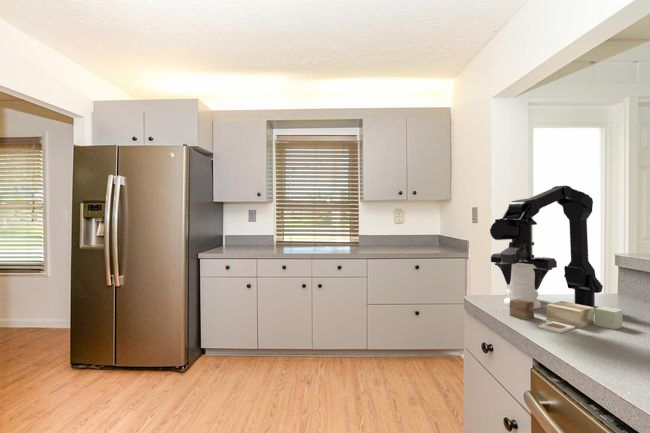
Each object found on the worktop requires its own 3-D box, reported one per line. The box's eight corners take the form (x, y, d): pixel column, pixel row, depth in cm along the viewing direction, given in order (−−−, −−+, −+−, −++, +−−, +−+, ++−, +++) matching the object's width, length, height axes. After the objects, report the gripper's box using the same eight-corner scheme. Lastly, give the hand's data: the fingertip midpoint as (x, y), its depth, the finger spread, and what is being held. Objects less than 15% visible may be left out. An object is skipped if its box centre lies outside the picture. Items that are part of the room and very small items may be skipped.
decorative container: (507, 299, 137) (506, 253, 137) (542, 303, 130) (541, 254, 130) (501, 305, 127) (501, 256, 127) (539, 310, 121) (538, 258, 120)
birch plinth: (562, 316, 115) (562, 301, 115) (594, 323, 107) (594, 307, 107) (546, 320, 111) (546, 304, 110) (578, 328, 103) (578, 311, 103)
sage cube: (602, 322, 108) (602, 306, 108) (622, 326, 104) (622, 309, 104) (594, 325, 105) (594, 308, 105) (615, 329, 101) (615, 312, 101)
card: (552, 322, 107) (552, 320, 107) (574, 328, 102) (574, 326, 102) (538, 327, 103) (538, 325, 103) (560, 333, 98) (560, 331, 98)
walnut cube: (518, 313, 118) (518, 298, 118) (533, 317, 114) (533, 301, 114) (509, 315, 116) (509, 300, 116) (525, 319, 111) (524, 303, 111)
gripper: (480, 238, 118) (480, 284, 119) (537, 242, 102) (537, 295, 102) (500, 237, 124) (500, 281, 124) (557, 240, 108) (557, 291, 108)
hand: (521, 286), depth 115 cm, fingers open, 9 cm apart
